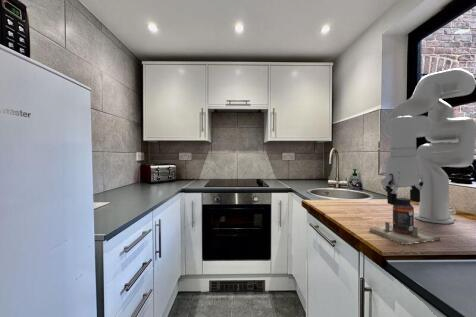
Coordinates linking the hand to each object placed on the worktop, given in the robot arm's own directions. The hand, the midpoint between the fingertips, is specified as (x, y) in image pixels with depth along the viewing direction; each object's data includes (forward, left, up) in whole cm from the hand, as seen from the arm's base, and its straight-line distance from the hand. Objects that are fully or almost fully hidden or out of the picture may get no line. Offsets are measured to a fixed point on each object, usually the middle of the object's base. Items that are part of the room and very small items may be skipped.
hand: (403, 202), depth 83 cm
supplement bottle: (+1, 0, -10) cm, 10 cm away
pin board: (+1, 0, -11) cm, 11 cm away
